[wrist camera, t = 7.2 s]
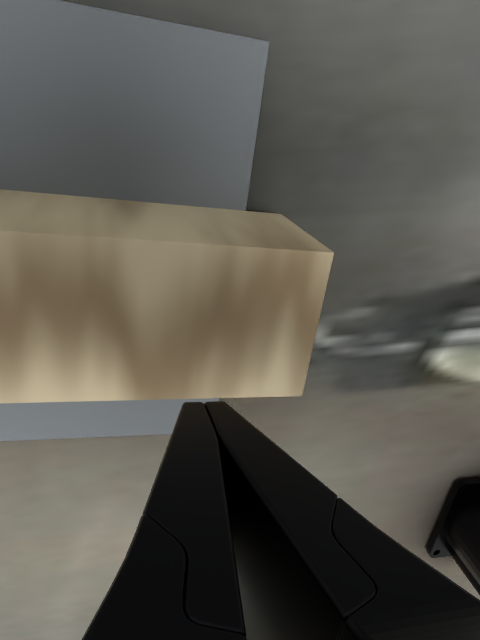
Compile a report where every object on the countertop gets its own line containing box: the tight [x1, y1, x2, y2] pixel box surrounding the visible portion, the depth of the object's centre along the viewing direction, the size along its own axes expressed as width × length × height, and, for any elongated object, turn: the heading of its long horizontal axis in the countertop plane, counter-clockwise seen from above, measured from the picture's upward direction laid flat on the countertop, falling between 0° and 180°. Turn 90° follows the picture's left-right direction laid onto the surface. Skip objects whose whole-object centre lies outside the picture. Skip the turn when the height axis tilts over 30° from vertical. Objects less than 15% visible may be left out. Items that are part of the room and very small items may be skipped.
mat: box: [0, 0, 269, 441], centre depth 17 cm, size 16×12×1 cm
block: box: [0, 189, 334, 403], centre depth 15 cm, size 5×5×12 cm
